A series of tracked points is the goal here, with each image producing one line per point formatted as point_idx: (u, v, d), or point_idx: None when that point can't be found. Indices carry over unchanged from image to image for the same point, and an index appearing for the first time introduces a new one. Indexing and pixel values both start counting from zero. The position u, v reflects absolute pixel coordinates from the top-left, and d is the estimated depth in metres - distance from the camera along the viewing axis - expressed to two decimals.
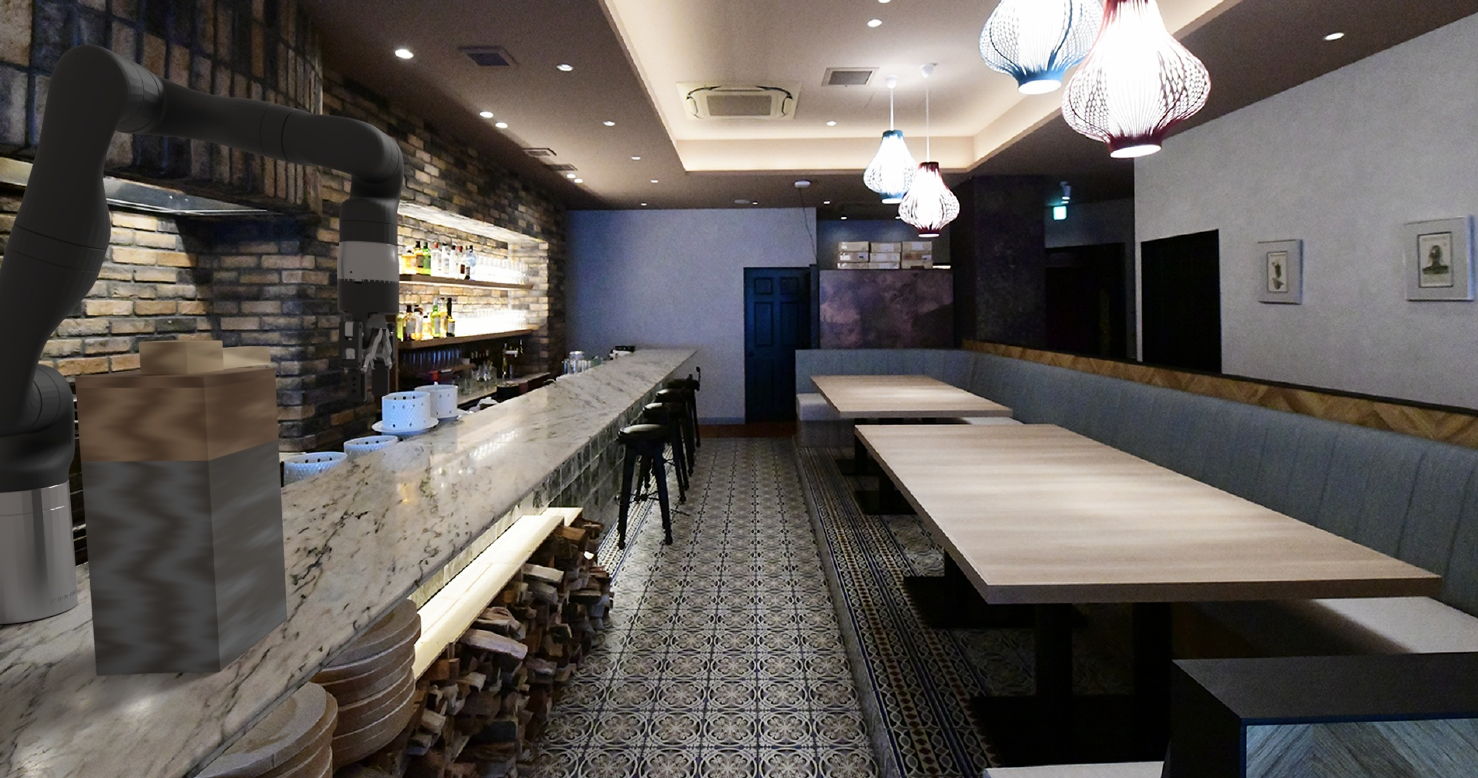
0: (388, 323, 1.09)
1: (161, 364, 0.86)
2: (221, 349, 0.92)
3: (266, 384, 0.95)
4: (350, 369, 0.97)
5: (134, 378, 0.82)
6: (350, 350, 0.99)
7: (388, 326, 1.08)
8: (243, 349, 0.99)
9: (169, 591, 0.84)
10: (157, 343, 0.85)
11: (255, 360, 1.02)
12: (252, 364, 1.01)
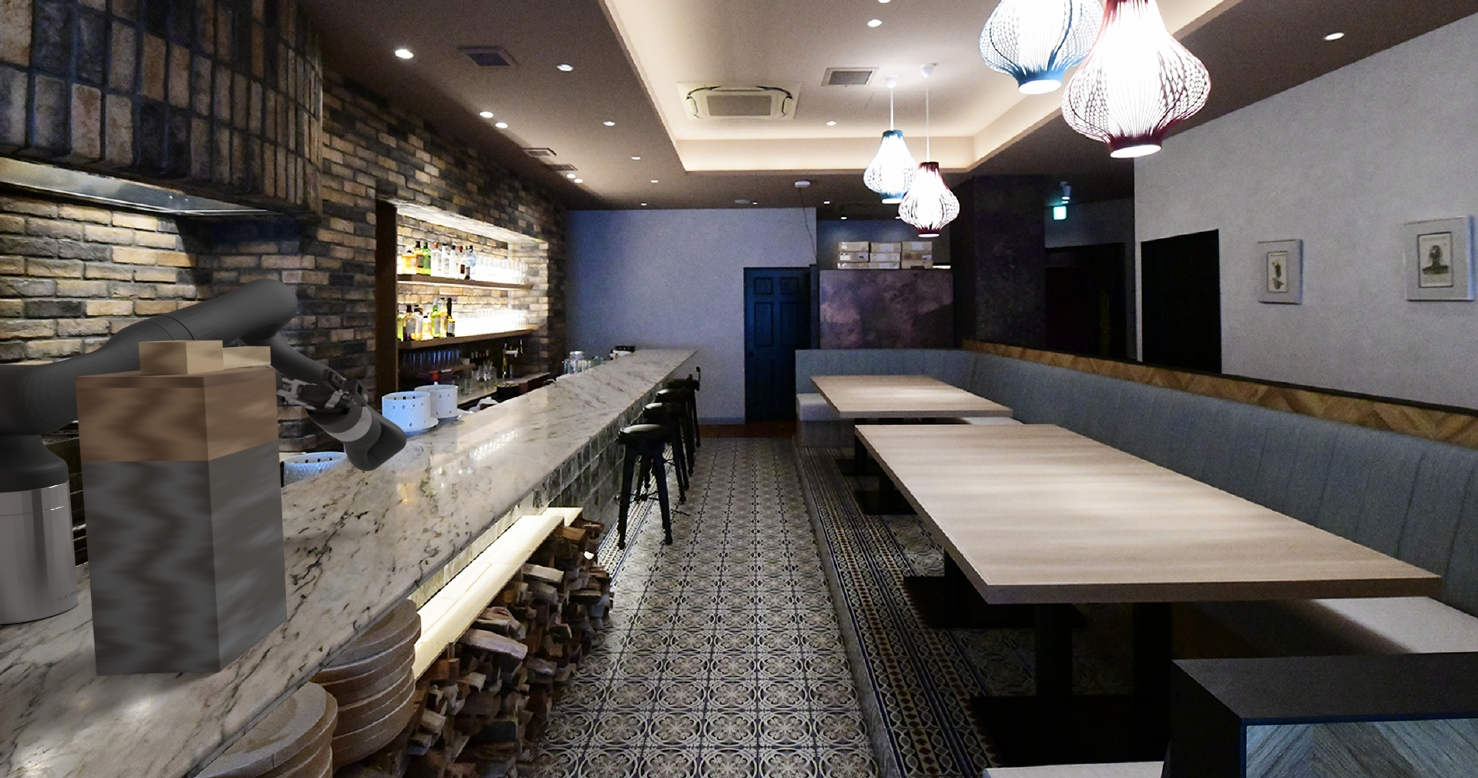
0: (287, 403, 1.24)
1: (161, 364, 0.86)
2: (221, 349, 0.92)
3: (266, 384, 0.95)
4: (349, 384, 1.20)
5: (134, 378, 0.82)
6: None
7: (287, 402, 1.24)
8: (243, 349, 0.99)
9: (169, 591, 0.84)
10: (157, 343, 0.85)
11: (255, 360, 1.02)
12: (252, 364, 1.01)
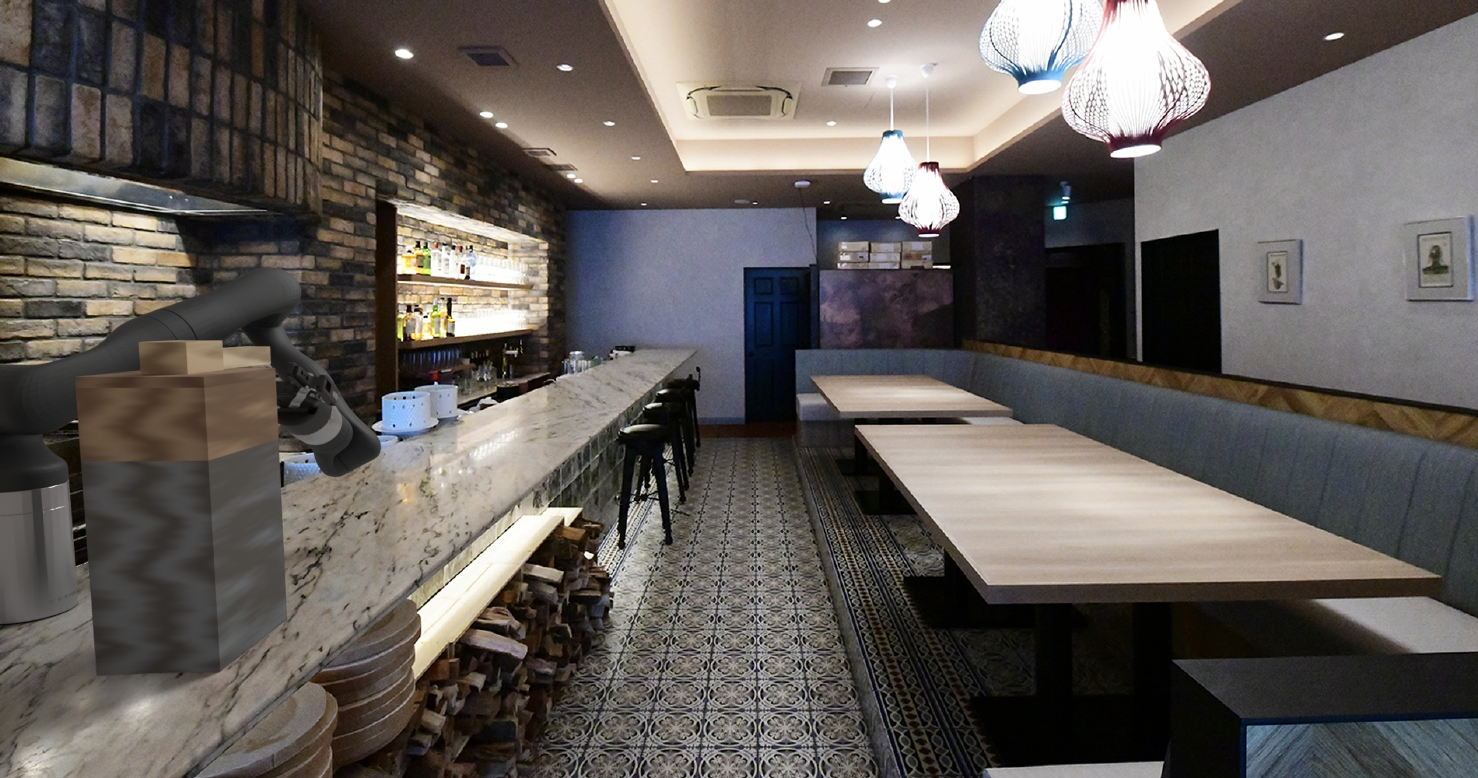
0: None
1: (161, 364, 0.86)
2: (221, 349, 0.92)
3: (266, 384, 0.95)
4: (316, 380, 1.10)
5: (134, 378, 0.82)
6: None
7: None
8: (243, 349, 0.99)
9: (169, 591, 0.84)
10: (157, 343, 0.85)
11: (255, 360, 1.02)
12: (252, 364, 1.01)
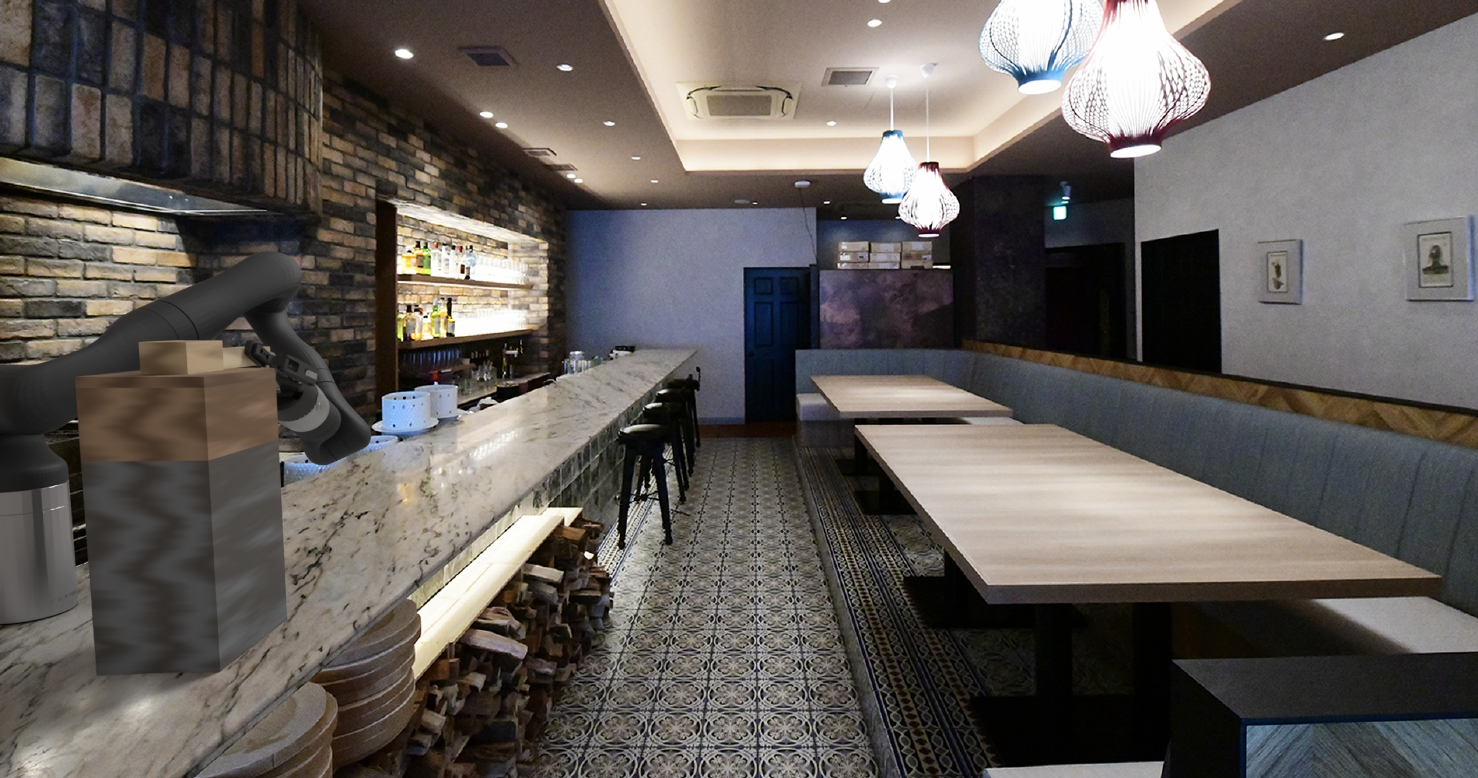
0: None
1: (161, 364, 0.86)
2: (221, 349, 0.92)
3: (266, 384, 0.95)
4: (278, 360, 1.04)
5: (134, 378, 0.82)
6: None
7: None
8: (243, 349, 0.99)
9: (169, 591, 0.84)
10: (157, 343, 0.85)
11: None
12: (252, 364, 1.01)
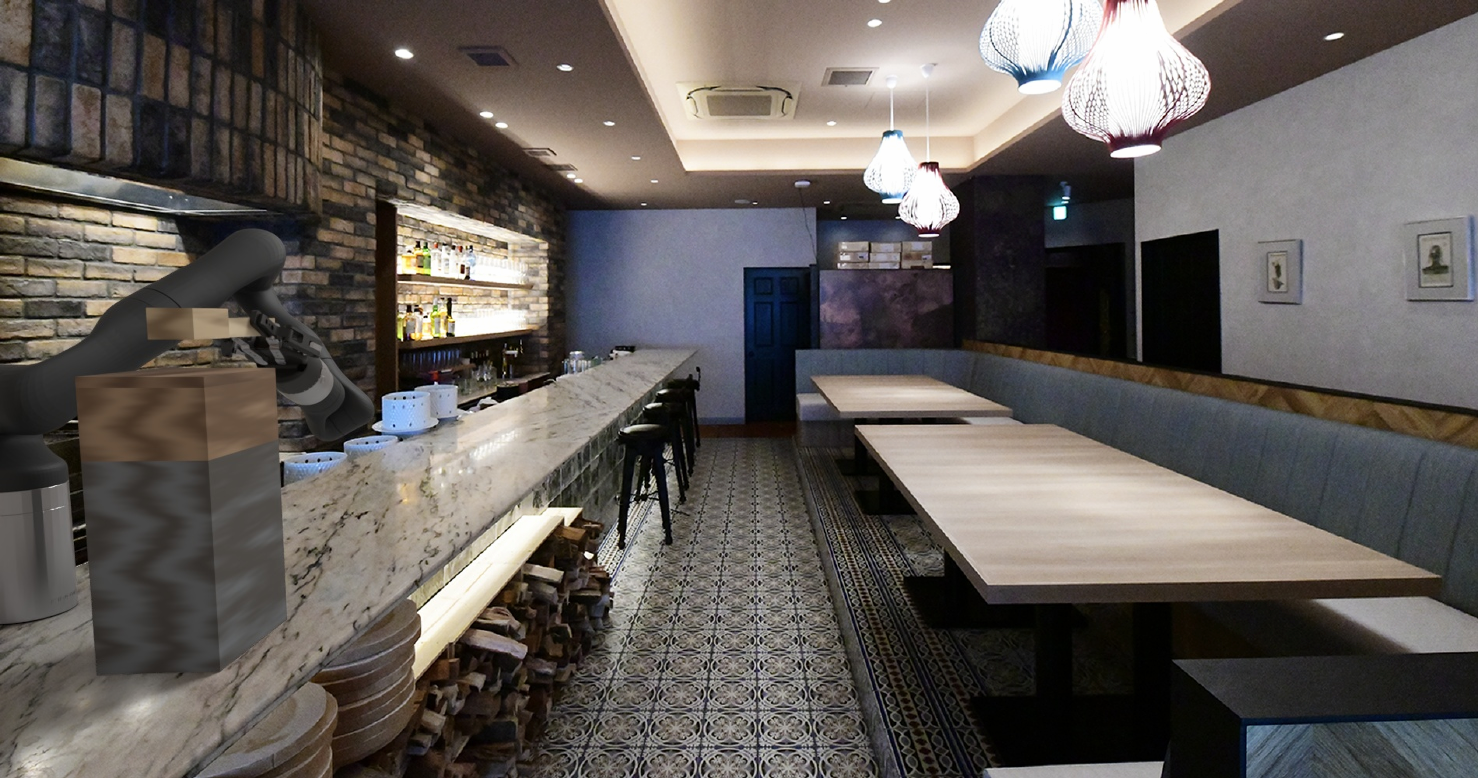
0: None
1: (168, 329, 0.87)
2: (227, 317, 0.94)
3: (266, 384, 0.95)
4: (282, 331, 1.05)
5: (134, 378, 0.82)
6: None
7: None
8: (248, 319, 1.00)
9: (169, 591, 0.84)
10: (164, 309, 0.87)
11: None
12: (257, 334, 1.02)
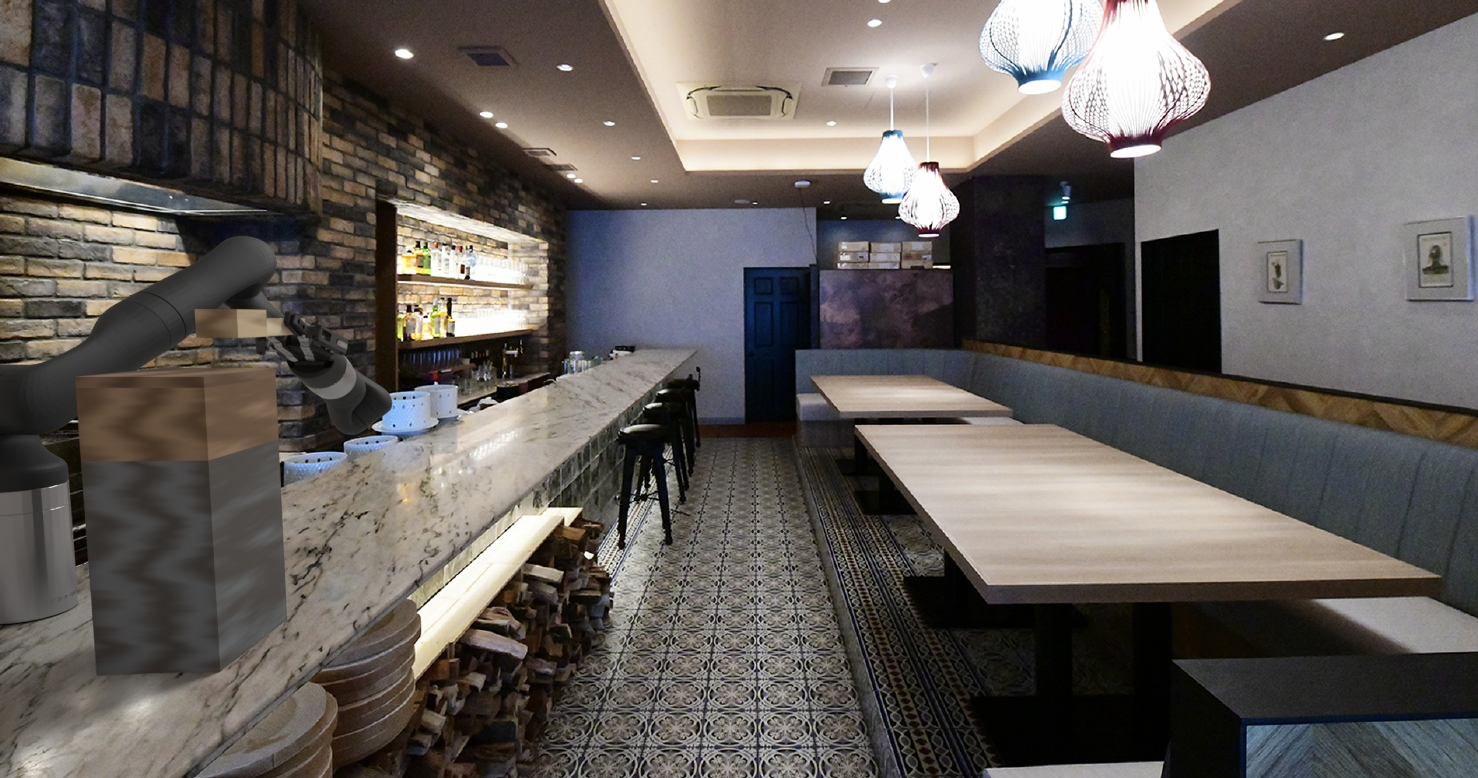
0: None
1: (215, 329, 0.96)
2: (265, 317, 1.02)
3: (266, 384, 0.95)
4: (313, 330, 1.14)
5: (134, 378, 0.82)
6: None
7: None
8: (282, 319, 1.09)
9: (169, 591, 0.84)
10: (211, 310, 0.95)
11: None
12: (290, 333, 1.11)
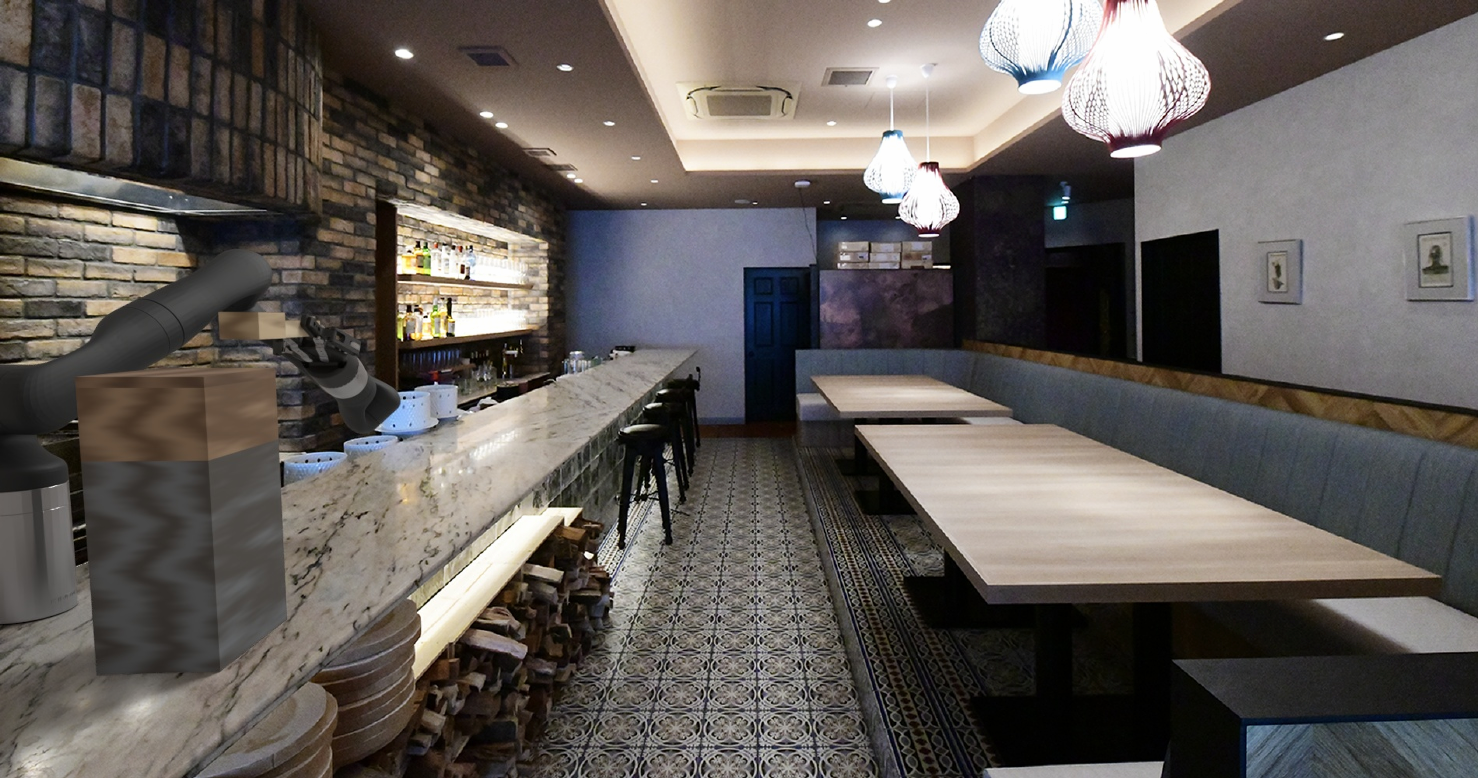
0: None
1: (237, 331, 1.01)
2: (284, 320, 1.07)
3: (266, 384, 0.95)
4: (327, 332, 1.19)
5: (134, 378, 0.82)
6: None
7: None
8: (299, 321, 1.14)
9: (169, 591, 0.84)
10: (234, 313, 1.00)
11: None
12: (306, 335, 1.16)
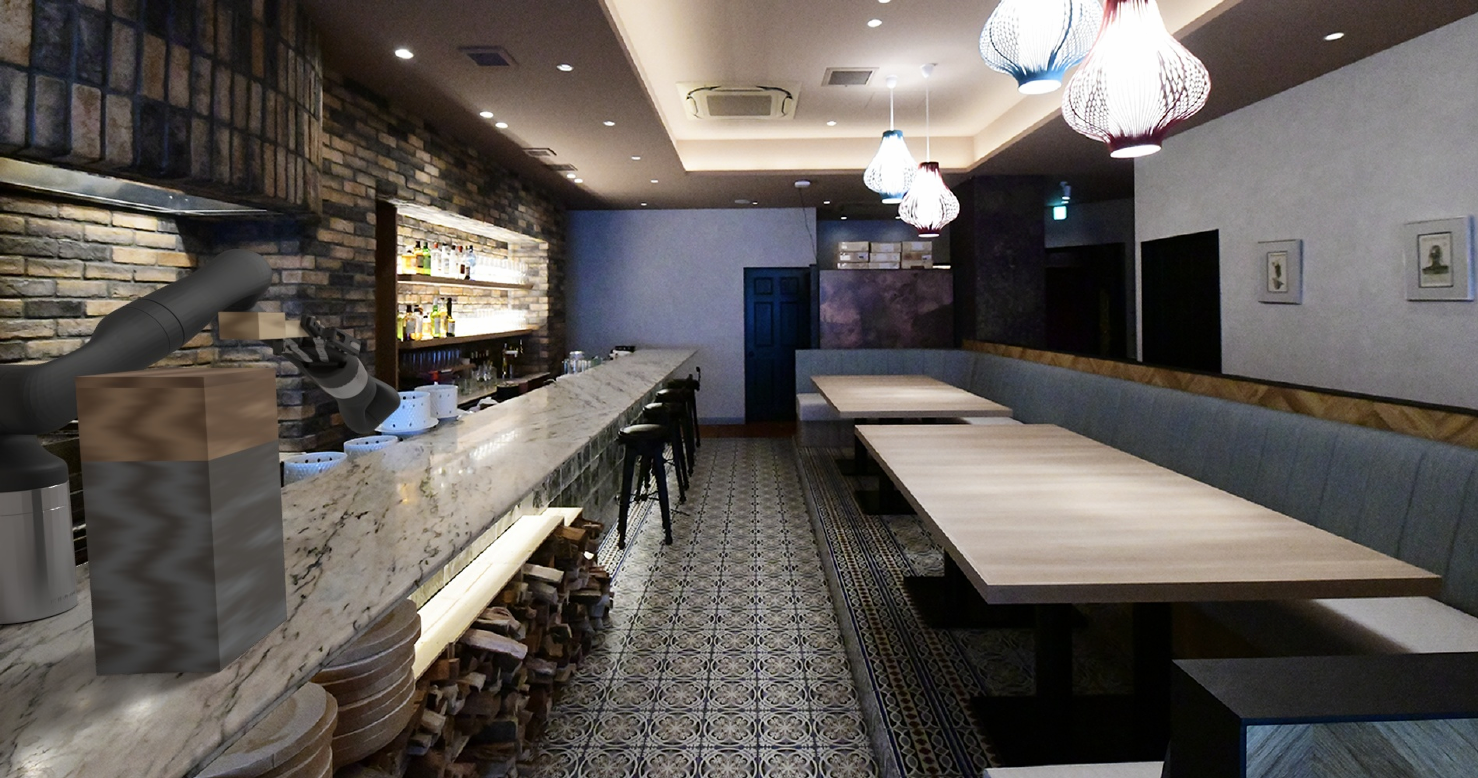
0: None
1: (237, 331, 1.01)
2: (284, 320, 1.07)
3: (266, 384, 0.95)
4: (327, 332, 1.19)
5: (134, 378, 0.82)
6: None
7: None
8: (299, 321, 1.14)
9: (169, 591, 0.84)
10: (234, 313, 1.00)
11: None
12: (306, 335, 1.16)
